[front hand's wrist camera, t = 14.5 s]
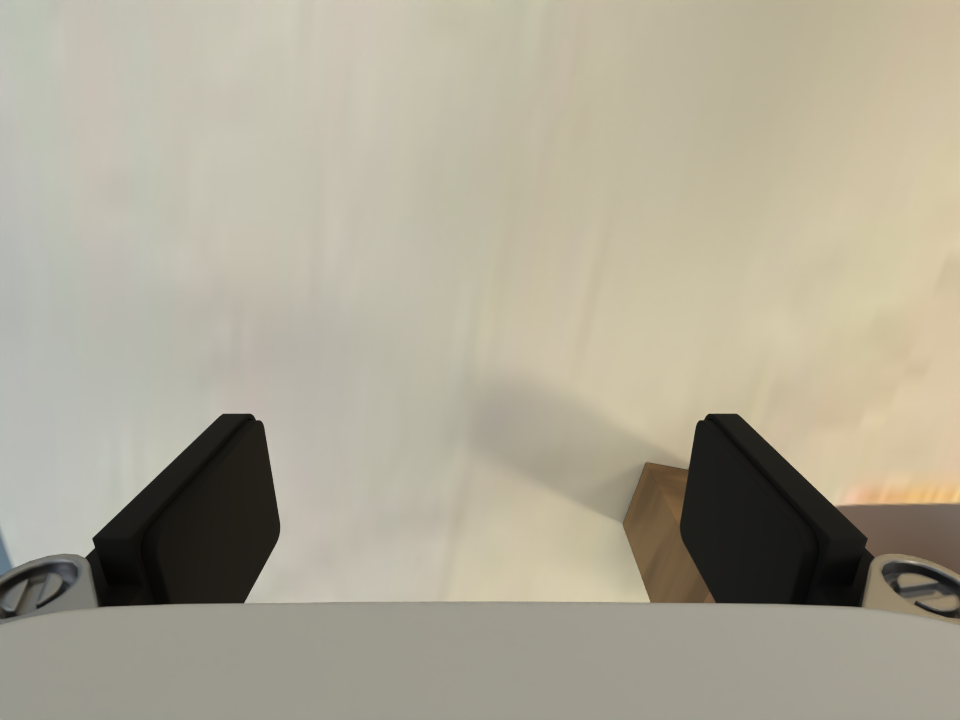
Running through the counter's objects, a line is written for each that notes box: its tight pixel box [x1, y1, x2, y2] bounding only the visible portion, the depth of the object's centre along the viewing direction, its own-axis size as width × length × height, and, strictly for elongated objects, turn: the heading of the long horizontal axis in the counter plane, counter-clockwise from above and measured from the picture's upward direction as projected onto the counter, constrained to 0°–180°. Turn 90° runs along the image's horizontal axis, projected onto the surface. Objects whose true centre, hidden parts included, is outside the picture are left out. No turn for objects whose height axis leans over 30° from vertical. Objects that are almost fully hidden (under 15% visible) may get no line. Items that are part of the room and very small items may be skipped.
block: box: [623, 463, 716, 603], centre depth 33 cm, size 4×6×12 cm
